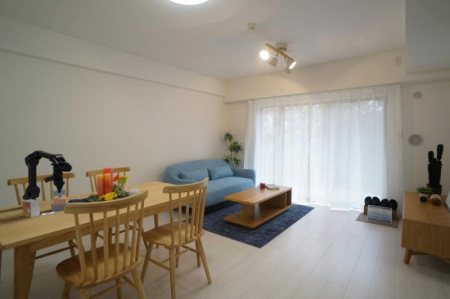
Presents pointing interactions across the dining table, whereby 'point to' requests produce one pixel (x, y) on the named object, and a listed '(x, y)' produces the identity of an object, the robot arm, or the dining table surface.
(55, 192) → the slate brick
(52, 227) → the dining table surface
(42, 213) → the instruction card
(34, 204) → the small box
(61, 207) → the charcoal base brick
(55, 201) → the terracotta brick
